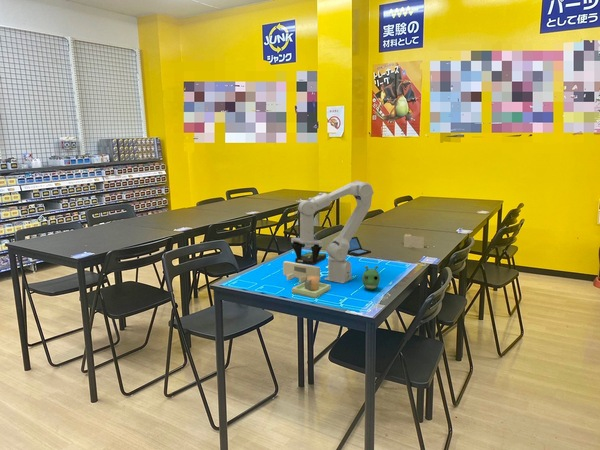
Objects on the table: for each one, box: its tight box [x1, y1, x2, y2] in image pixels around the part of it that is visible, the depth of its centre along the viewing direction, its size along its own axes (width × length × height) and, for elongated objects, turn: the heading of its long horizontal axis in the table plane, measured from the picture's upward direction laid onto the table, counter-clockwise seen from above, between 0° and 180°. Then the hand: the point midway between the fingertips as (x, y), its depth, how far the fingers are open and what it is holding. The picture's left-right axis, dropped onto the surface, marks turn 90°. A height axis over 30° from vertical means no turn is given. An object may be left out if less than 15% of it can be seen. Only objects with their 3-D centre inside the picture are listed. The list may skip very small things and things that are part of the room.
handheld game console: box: [347, 236, 372, 257], centre depth 239 cm, size 12×11×7 cm
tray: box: [291, 281, 331, 299], centre depth 180 cm, size 11×12×2 cm
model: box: [403, 233, 425, 249], centre depth 251 cm, size 3×11×8 cm, turn 73°
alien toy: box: [361, 265, 381, 290], centre depth 181 cm, size 7×8×10 cm
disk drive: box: [294, 251, 327, 266], centre depth 225 cm, size 10×3×15 cm
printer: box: [282, 260, 321, 284], centre depth 195 cm, size 18×7×6 cm, turn 57°
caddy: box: [304, 275, 320, 291], centre depth 180 cm, size 5×7×5 cm, turn 147°
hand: (306, 260), depth 190 cm, fingers open, 7 cm apart
